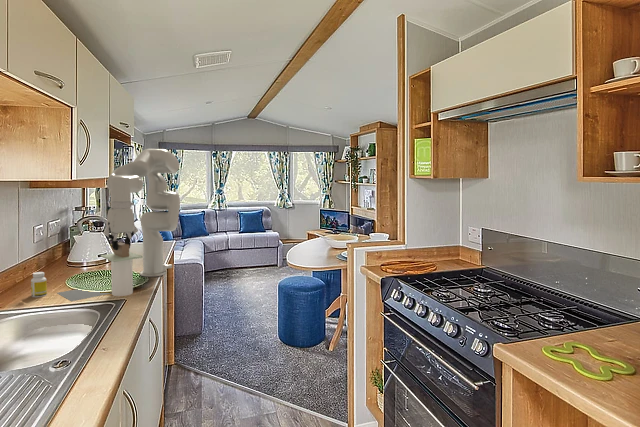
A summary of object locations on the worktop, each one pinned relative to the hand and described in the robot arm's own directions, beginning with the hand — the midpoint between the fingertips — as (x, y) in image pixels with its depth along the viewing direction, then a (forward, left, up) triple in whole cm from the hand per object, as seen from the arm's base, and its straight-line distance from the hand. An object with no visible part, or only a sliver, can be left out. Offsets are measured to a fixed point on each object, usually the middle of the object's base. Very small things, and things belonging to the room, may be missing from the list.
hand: (121, 248), depth 186 cm
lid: (0, 0, -4) cm, 4 cm away
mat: (+11, -11, -20) cm, 25 cm away
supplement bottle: (+25, -20, -20) cm, 38 cm away
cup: (0, 0, -20) cm, 20 cm away
